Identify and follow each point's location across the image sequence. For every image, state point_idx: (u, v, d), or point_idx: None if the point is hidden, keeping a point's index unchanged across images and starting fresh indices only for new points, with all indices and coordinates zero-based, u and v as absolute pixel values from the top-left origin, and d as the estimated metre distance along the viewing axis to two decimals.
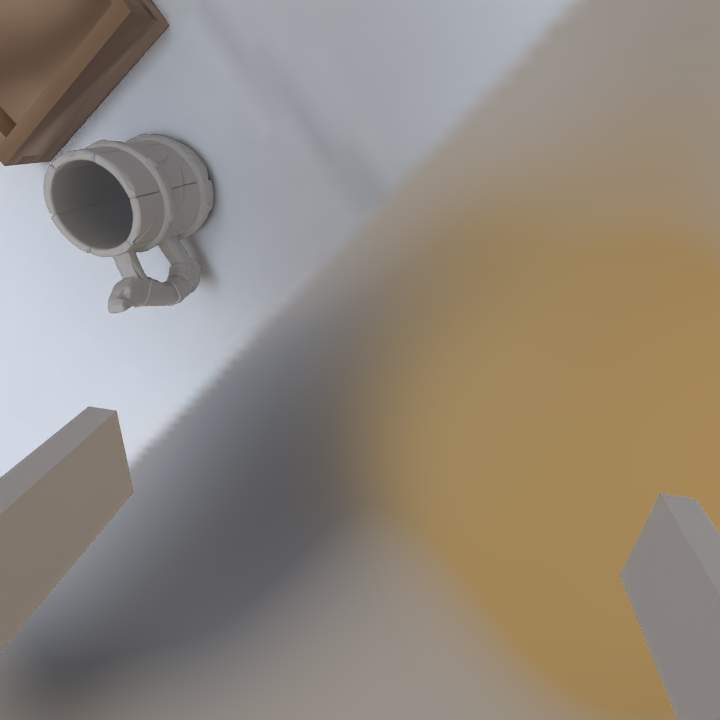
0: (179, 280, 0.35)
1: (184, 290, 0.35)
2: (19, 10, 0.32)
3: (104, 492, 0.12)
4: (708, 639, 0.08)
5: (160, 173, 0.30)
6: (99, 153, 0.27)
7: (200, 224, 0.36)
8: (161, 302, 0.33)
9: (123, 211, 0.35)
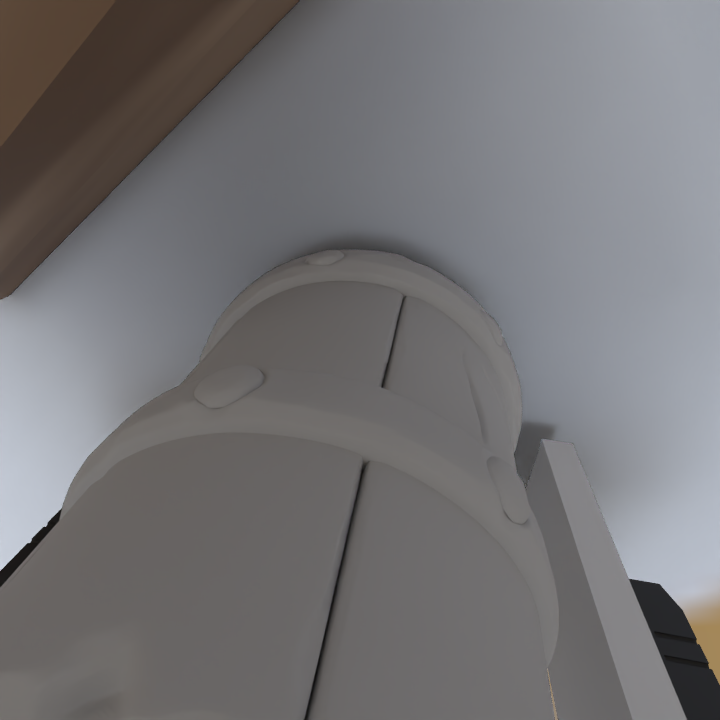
0: None
1: None
2: None
3: None
4: (557, 550, 0.10)
5: (540, 541, 0.06)
6: (315, 680, 0.03)
7: None
8: None
9: None
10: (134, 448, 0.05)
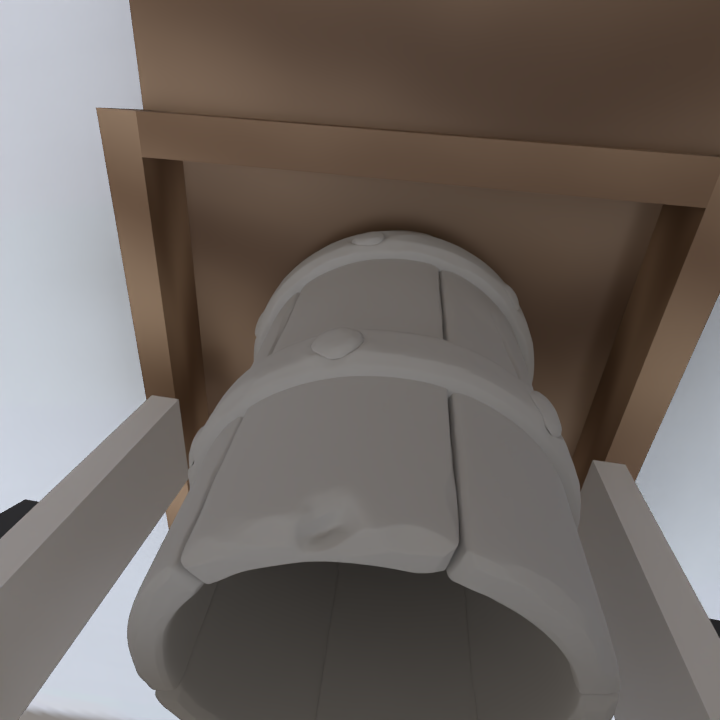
0: None
1: None
2: None
3: (167, 476, 0.12)
4: (621, 584, 0.09)
5: (568, 451, 0.08)
6: (460, 512, 0.05)
7: None
8: None
9: None
10: (270, 392, 0.07)
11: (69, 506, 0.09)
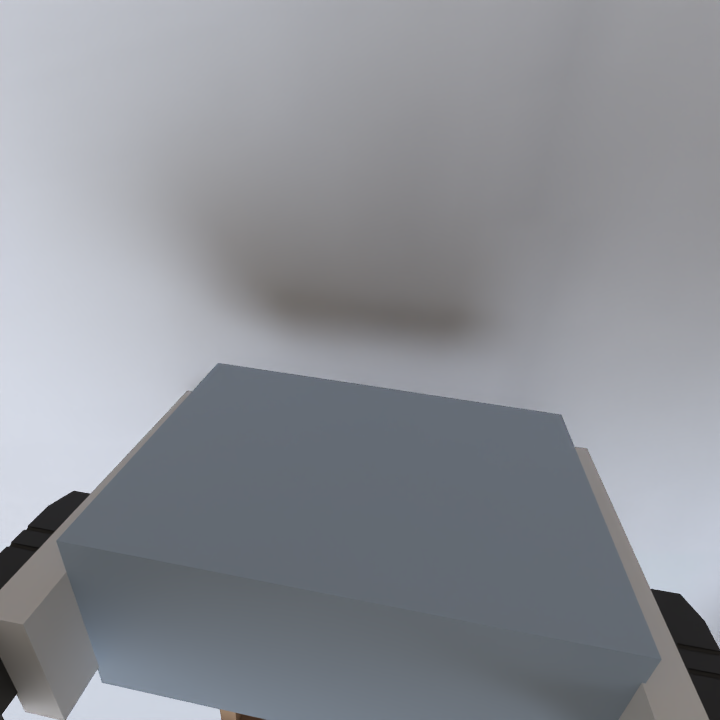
0: None
1: None
2: None
3: None
4: None
5: None
6: None
7: None
8: None
9: None
10: None
11: None
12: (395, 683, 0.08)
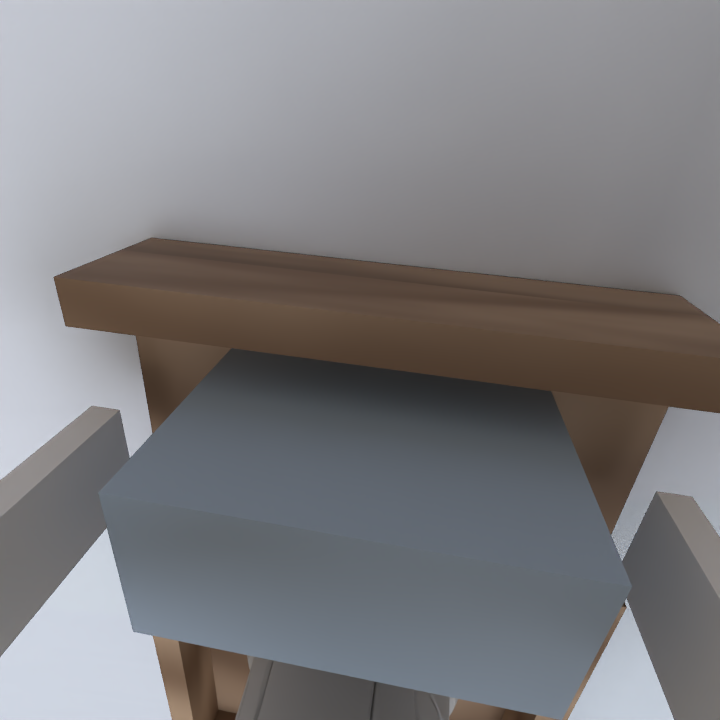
0: None
1: None
2: None
3: None
4: (704, 636, 0.08)
5: None
6: None
7: None
8: None
9: None
10: None
11: None
12: (399, 620, 0.09)
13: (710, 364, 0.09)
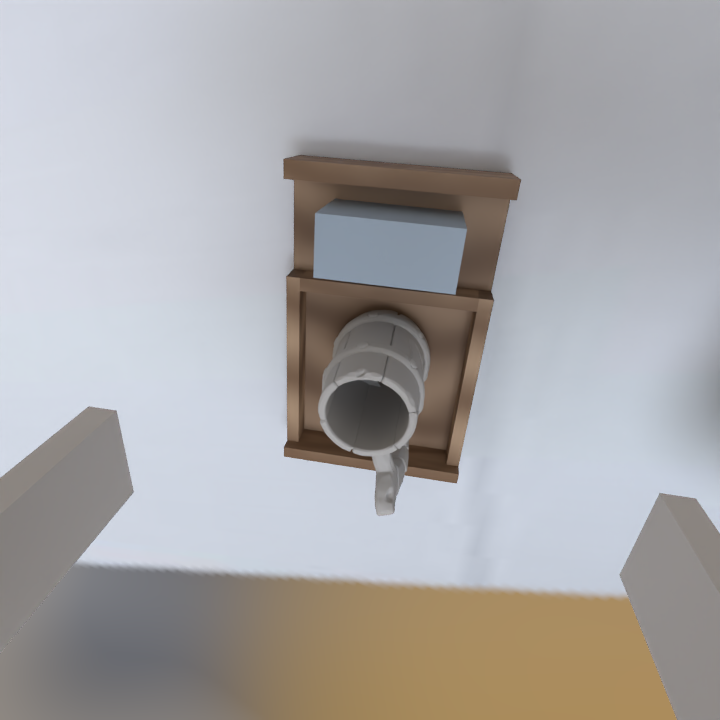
0: (403, 451, 0.36)
1: (406, 459, 0.36)
2: None
3: (104, 492, 0.12)
4: (708, 639, 0.08)
5: (419, 373, 0.31)
6: (384, 372, 0.28)
7: None
8: None
9: (346, 382, 0.36)
10: (347, 355, 0.30)
11: None
12: (403, 255, 0.28)
13: (501, 180, 0.29)
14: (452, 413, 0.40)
